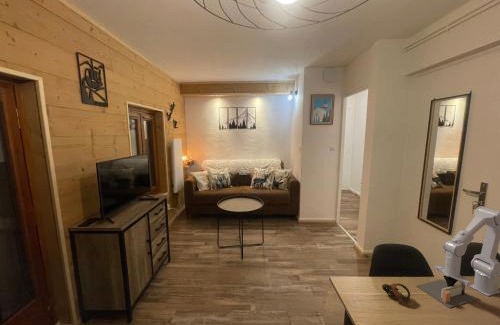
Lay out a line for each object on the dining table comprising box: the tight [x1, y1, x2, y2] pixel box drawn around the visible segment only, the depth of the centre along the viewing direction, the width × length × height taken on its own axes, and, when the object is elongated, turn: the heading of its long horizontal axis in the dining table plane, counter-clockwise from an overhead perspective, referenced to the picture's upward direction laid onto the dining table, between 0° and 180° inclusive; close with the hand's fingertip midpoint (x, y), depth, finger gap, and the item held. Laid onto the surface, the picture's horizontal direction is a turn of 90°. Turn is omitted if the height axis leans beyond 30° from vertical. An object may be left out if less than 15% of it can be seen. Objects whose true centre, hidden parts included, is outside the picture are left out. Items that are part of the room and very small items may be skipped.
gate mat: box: [416, 278, 477, 309], centre depth 114 cm, size 18×16×1 cm
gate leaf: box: [441, 283, 462, 298], centre depth 111 cm, size 12×1×5 cm, turn 105°
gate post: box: [459, 281, 466, 295], centre depth 113 cm, size 2×2×6 cm
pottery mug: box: [381, 282, 411, 304], centre depth 112 cm, size 12×10×8 cm
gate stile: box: [442, 290, 451, 303], centre depth 108 cm, size 3×2×5 cm, turn 104°
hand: (450, 289), depth 113 cm, fingers closed
